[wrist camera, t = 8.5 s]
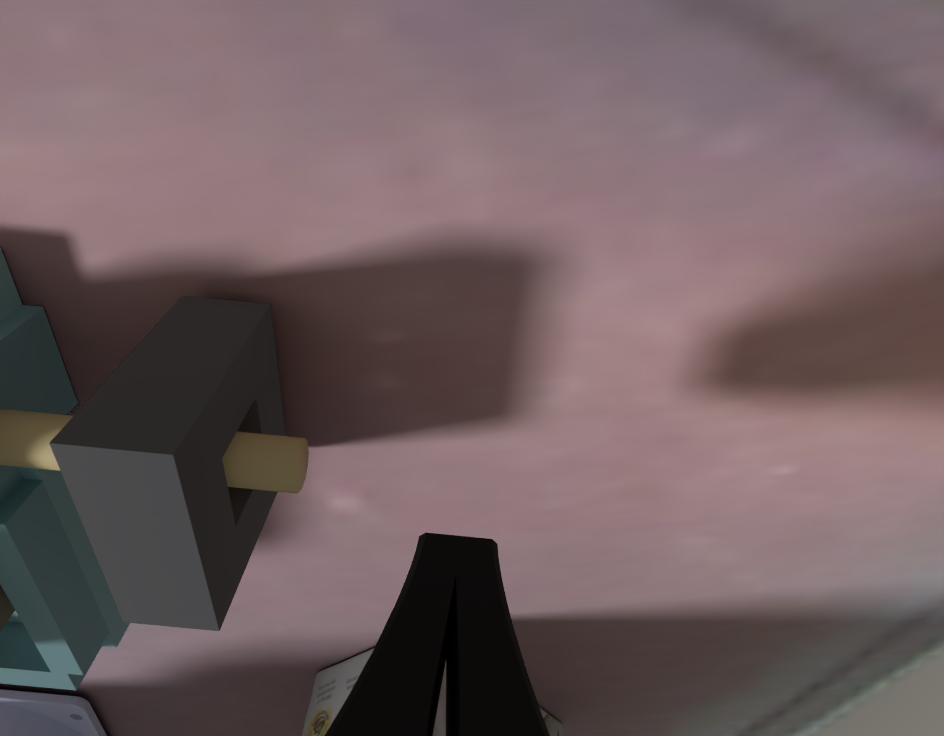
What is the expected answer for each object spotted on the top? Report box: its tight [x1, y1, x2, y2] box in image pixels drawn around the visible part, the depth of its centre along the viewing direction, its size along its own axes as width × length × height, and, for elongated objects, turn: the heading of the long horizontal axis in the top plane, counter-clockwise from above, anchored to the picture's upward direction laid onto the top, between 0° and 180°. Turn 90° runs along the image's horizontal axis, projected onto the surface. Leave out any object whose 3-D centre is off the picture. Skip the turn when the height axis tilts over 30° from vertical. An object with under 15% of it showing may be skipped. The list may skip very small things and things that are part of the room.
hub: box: [49, 296, 286, 631], centre depth 13 cm, size 5×2×5 cm, turn 175°
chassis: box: [0, 247, 309, 690], centre depth 16 cm, size 14×16×5 cm
